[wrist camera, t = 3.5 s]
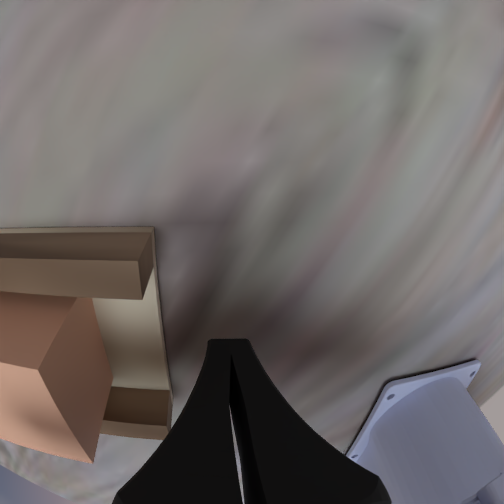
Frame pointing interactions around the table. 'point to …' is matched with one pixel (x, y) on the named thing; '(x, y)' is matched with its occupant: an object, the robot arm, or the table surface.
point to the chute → (104, 309)
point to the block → (52, 374)
